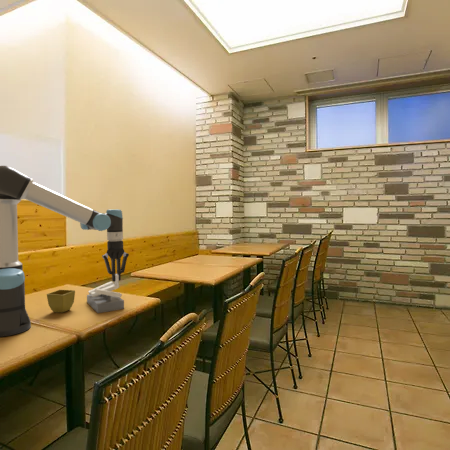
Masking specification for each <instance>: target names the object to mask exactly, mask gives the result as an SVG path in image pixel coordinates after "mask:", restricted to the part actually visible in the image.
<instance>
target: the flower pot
mask: <svg viewBox="0 0 450 450" xmlns="http://www.w3.org/2000/svg"><path fill="white" fill-rule="evenodd" d="M75 294H76V290H74V289H73V290H72V289H58V290H55V291H52V292H49V293H46V297H47V298H46V300H47V303H48V306H49V308H50V310H51V311H52V312H53V313H60V314H61V313H62V314H63V313H65V312H67V311H69V310H71V309H72V307H73V304H74V302H75V296H76V295H75Z"/></svg>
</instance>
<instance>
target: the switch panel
mask: <svg viewBox="0 0 450 450" xmlns="http://www.w3.org/2000/svg"><path fill="white" fill-rule="evenodd" d="M86 303H87V304H88V305H89V307H91V309H93V310H94V312H96V313H97V314H100V313H101V314H102V313H106V312H113V311H114V312H115V311H119V310H123V309H124V310H125V300H124V299H122V297H115V296H109V295H104V294H101V295H98V296H95V297H93V296H92V295H90V294H89V293H88V294H86Z"/></svg>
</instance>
